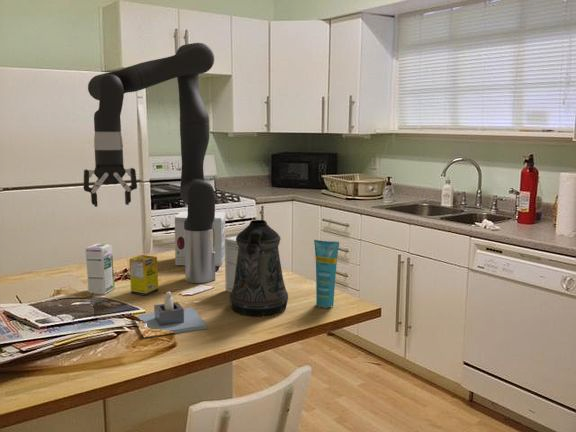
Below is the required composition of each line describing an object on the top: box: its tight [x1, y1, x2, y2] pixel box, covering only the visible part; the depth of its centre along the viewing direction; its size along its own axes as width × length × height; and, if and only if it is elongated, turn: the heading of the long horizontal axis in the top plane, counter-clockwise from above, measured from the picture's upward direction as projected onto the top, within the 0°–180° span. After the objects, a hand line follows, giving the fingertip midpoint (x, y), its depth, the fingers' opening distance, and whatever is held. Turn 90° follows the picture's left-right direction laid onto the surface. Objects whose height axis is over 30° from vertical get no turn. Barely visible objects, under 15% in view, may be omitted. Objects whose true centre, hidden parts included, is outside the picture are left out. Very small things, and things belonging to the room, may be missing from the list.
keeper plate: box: [138, 291, 208, 334], centre depth 141 cm, size 16×14×8 cm
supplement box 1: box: [128, 254, 159, 297], centre depth 166 cm, size 6×6×11 cm
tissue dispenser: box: [153, 301, 184, 326], centre depth 141 cm, size 6×6×4 cm
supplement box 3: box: [224, 235, 239, 293], centre depth 168 cm, size 10×9×17 cm
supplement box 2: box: [174, 210, 226, 267], centre depth 201 cm, size 17×13×18 cm
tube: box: [313, 239, 340, 308], centre depth 155 cm, size 7×5×19 cm, turn 73°
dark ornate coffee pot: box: [229, 219, 289, 318], centre depth 151 cm, size 16×19×25 cm
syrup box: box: [84, 243, 116, 295], centre depth 166 cm, size 6×6×14 cm
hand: (111, 205), depth 154 cm, fingers open, 8 cm apart
